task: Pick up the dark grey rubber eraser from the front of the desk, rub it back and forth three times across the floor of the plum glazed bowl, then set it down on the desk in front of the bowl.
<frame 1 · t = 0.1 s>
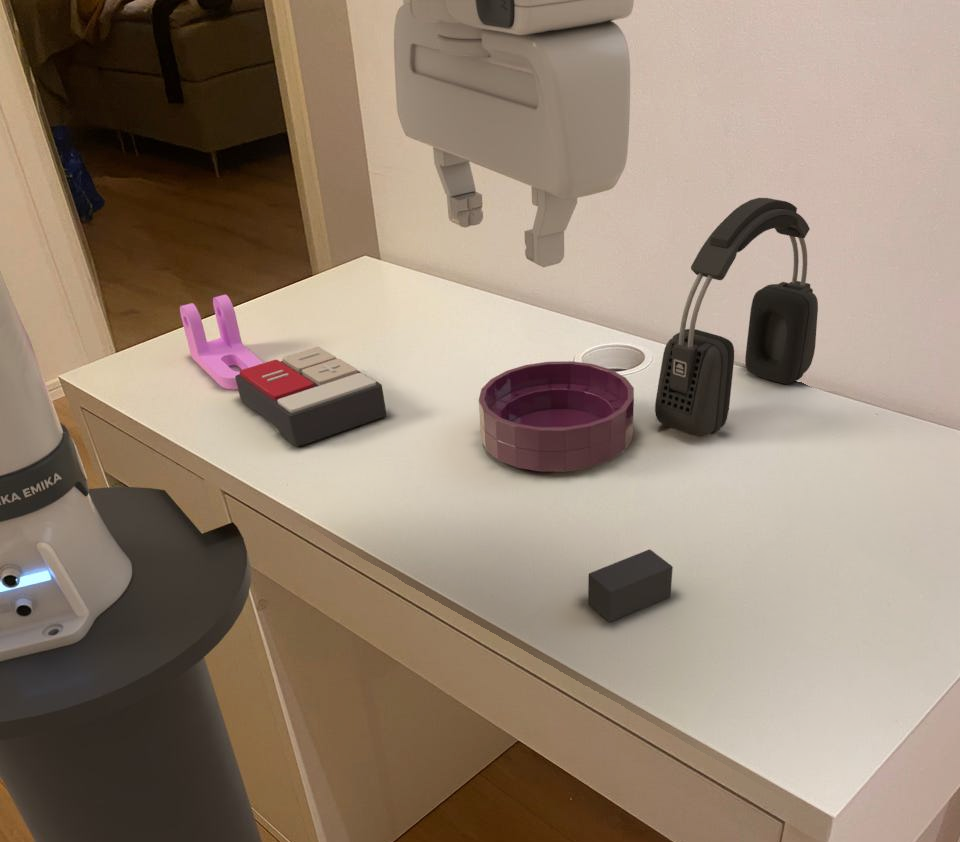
hand: (503, 242, 61), 29 cm above the table, tool pointing down, fingers open, 8 cm apart
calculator: (312, 409, 110), on the table
eraser: (629, 600, 79), on the table
headphones: (735, 401, 105), on the table
bowl: (556, 439, 101), on the table
bracket: (231, 370, 120), on the table
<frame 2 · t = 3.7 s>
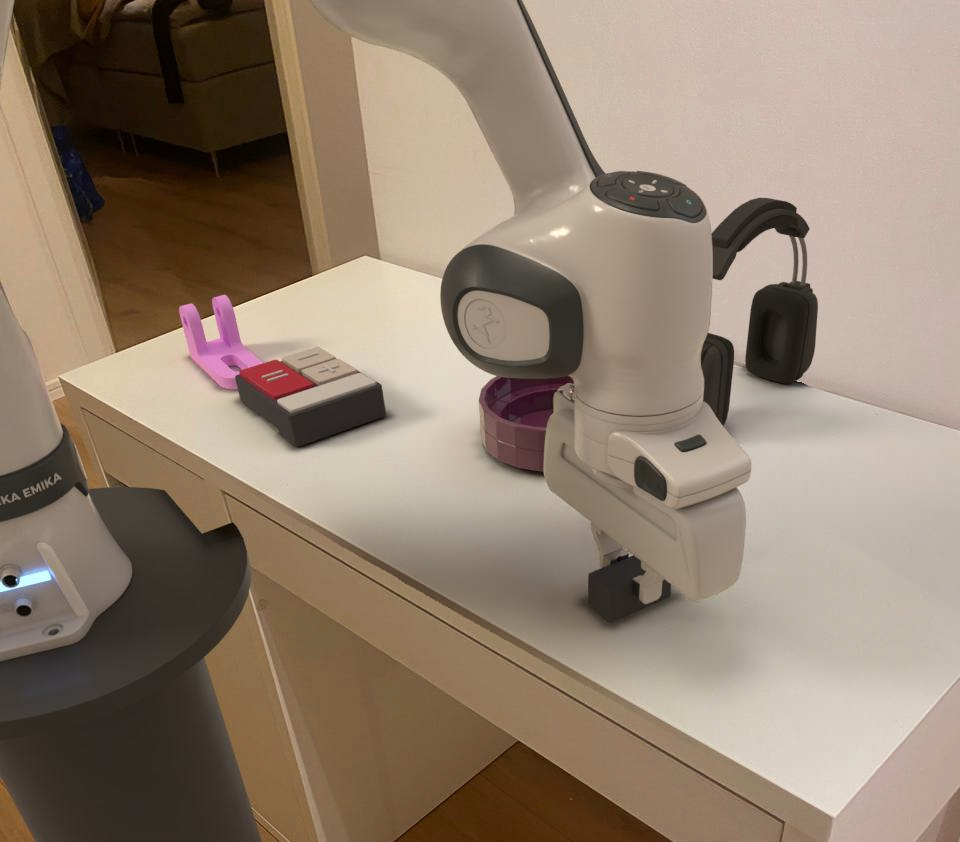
hand: (629, 584, 78), 2 cm above the table, tool pointing down, fingers closed on eraser, 3 cm apart
eraser: (629, 600, 80), on the table, touching gripper
everything else where it was.
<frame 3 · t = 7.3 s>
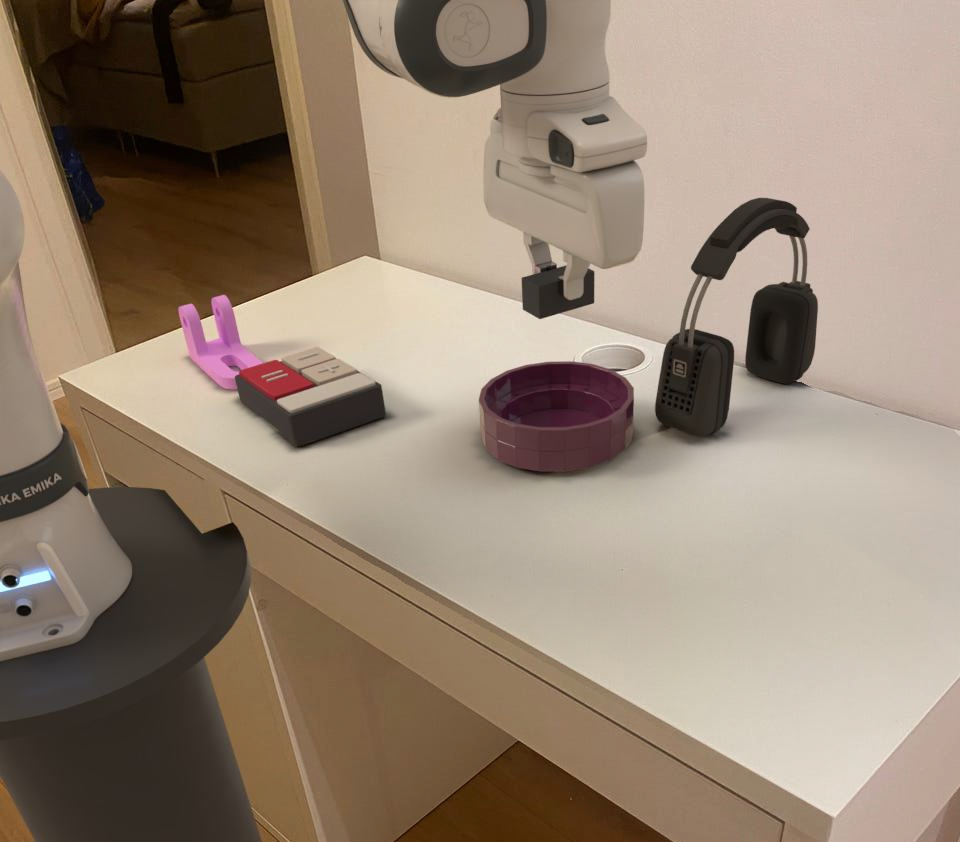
hand: (557, 289, 90), 16 cm above the table, tool pointing down, fingers closed on eraser, 3 cm apart
eraser: (558, 306, 91), point 14 cm above the table, touching gripper
everything else where it was.
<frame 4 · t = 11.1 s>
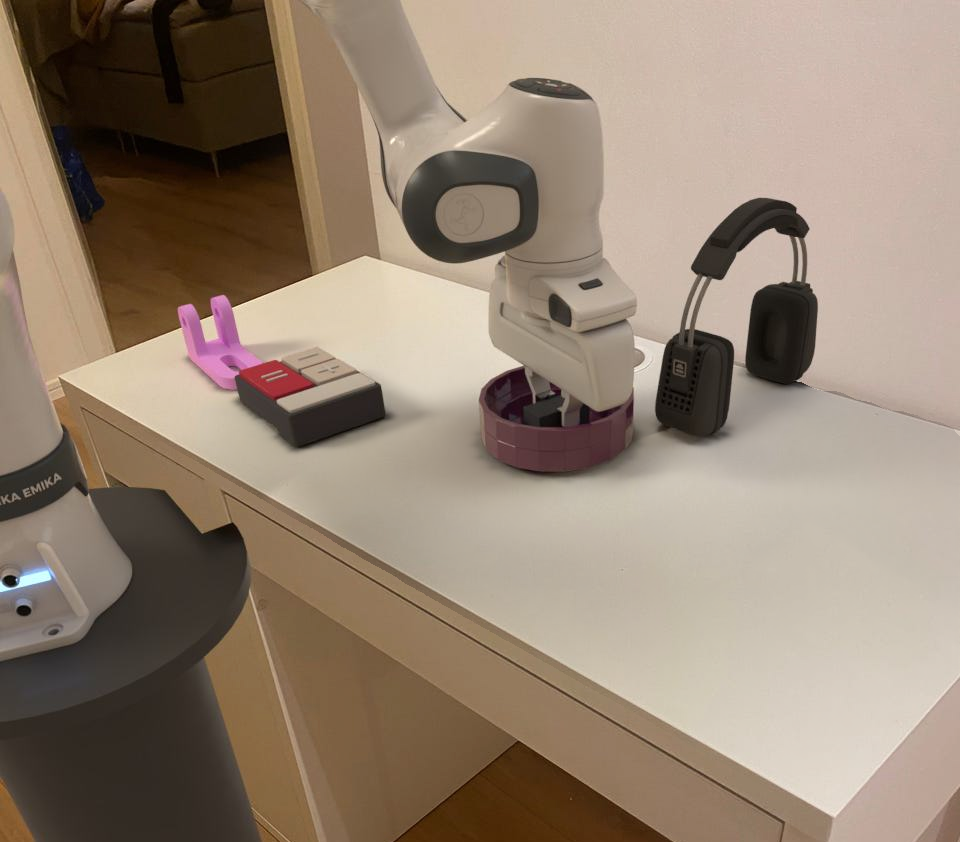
hand: (556, 416, 99), 2 cm above the table, tool pointing down, fingers closed on eraser, 3 cm apart
eraser: (556, 430, 101), point 1 cm above the table, touching gripper
everything else where it was.
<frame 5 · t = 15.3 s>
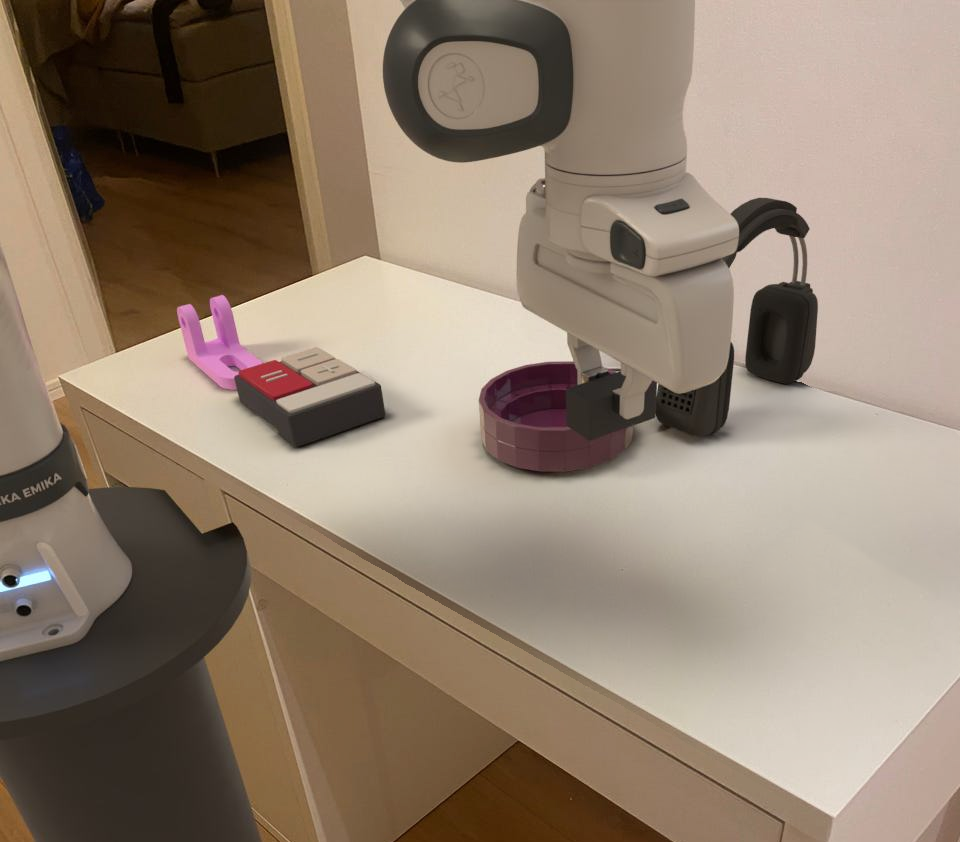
hand: (610, 403, 72), 16 cm above the table, tool pointing down, fingers closed on eraser, 3 cm apart
eraser: (610, 422, 74), point 14 cm above the table, touching gripper
everything else where it was.
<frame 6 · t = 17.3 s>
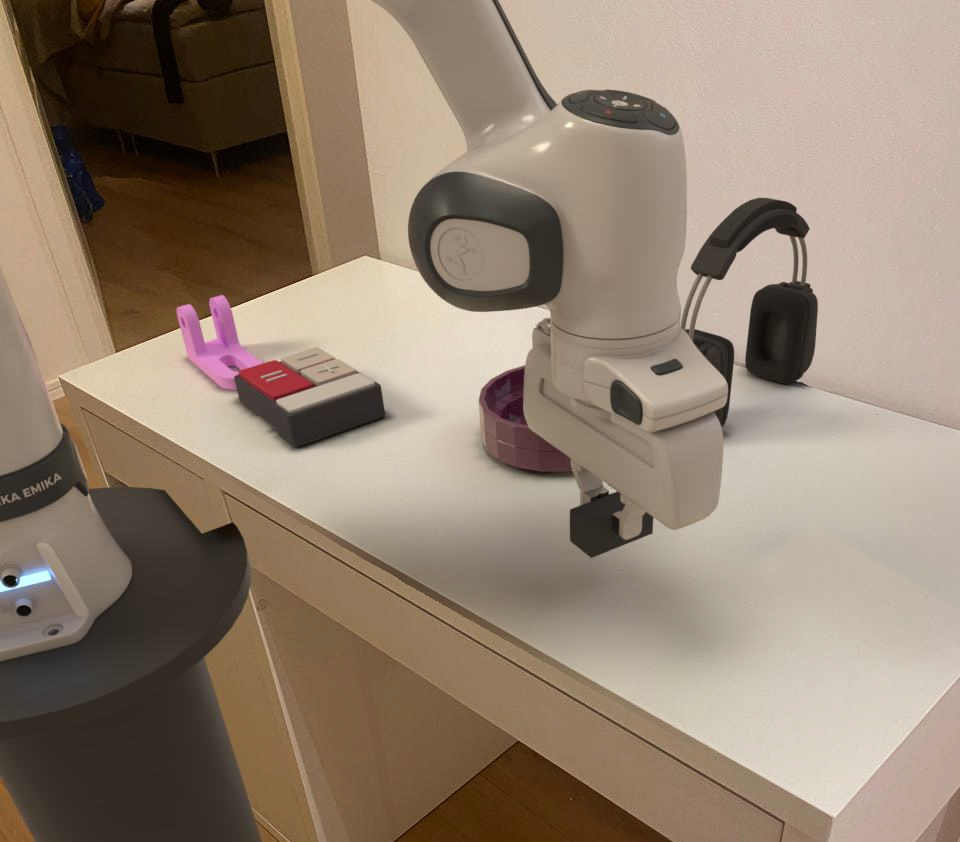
hand: (610, 521, 78), 6 cm above the table, tool pointing down, fingers closed on eraser, 3 cm apart
eraser: (611, 537, 79), point 4 cm above the table, touching gripper
everything else where it was.
when the fingers open (1 cm above the table, at t = 18.6 s): eraser stays where it is, on the table.
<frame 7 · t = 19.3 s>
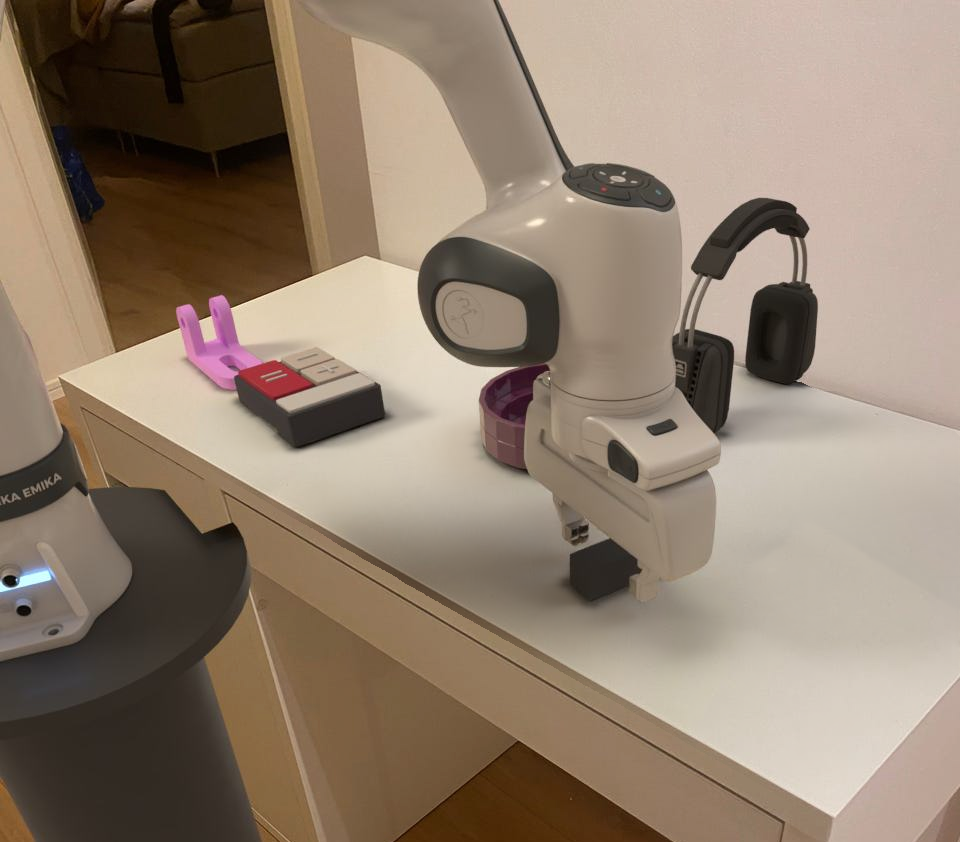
hand: (607, 567, 81), 2 cm above the table, tool pointing down, fingers open, 8 cm apart
eraser: (609, 580, 82), on the table
everything else where it was.
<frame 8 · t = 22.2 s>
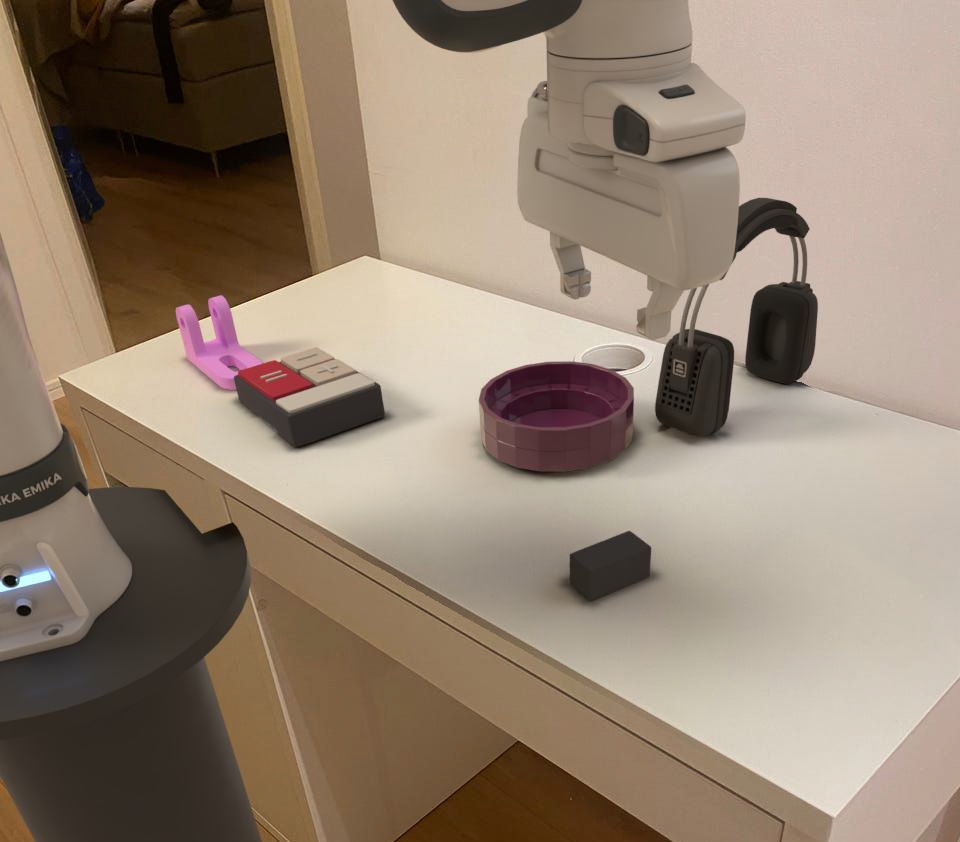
hand: (612, 314, 71), 21 cm above the table, tool pointing down, fingers open, 8 cm apart
nothing on the table moved.
at the end: eraser 0.3 cm from the target spot on the table beside the bowl, on the table; the gripper is holding nothing; eraser tilted 0° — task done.
